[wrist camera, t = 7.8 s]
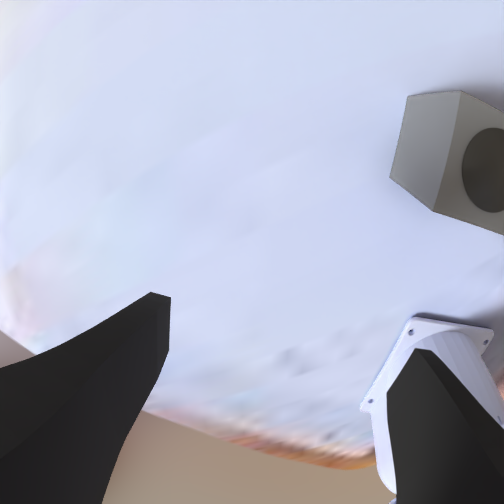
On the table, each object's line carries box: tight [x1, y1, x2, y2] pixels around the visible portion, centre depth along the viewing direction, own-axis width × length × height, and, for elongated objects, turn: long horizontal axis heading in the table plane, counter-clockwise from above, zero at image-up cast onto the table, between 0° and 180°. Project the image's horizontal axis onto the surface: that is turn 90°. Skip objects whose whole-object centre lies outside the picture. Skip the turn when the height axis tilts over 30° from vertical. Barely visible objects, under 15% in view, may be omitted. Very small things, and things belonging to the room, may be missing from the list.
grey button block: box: [389, 91, 504, 235], centre depth 11 cm, size 4×4×6 cm
